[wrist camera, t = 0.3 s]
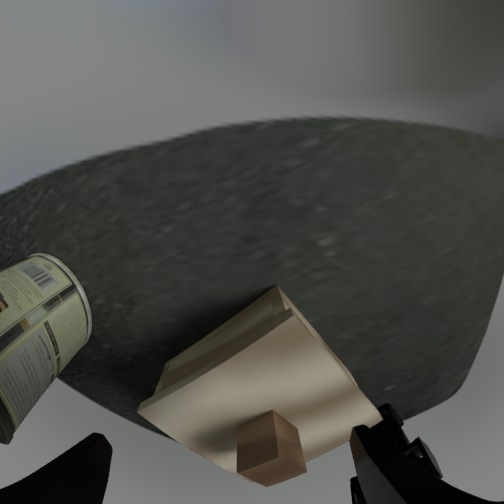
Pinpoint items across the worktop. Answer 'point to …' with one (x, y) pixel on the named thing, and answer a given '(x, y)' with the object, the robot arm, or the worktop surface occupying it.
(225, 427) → the lid
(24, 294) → the coffee can
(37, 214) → the worktop surface
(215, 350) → the box
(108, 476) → the robot arm
